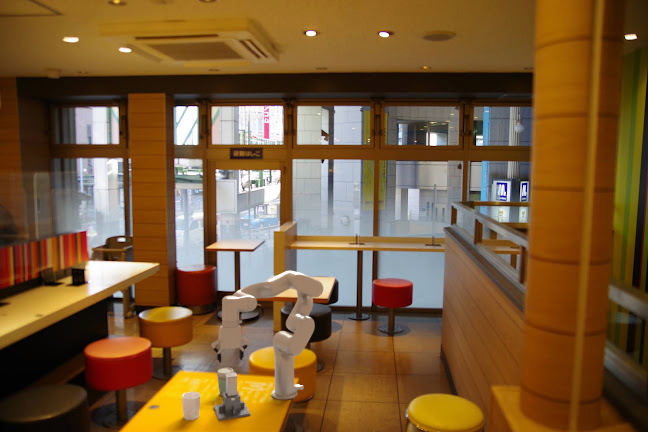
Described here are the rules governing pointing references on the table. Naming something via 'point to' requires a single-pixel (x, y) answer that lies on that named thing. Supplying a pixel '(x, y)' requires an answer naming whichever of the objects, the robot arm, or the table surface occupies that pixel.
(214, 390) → the table surface
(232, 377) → the post
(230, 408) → the stand base
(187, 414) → the white cup
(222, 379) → the coffee cup
